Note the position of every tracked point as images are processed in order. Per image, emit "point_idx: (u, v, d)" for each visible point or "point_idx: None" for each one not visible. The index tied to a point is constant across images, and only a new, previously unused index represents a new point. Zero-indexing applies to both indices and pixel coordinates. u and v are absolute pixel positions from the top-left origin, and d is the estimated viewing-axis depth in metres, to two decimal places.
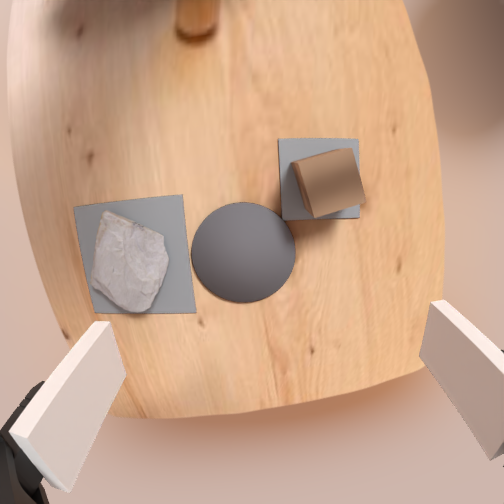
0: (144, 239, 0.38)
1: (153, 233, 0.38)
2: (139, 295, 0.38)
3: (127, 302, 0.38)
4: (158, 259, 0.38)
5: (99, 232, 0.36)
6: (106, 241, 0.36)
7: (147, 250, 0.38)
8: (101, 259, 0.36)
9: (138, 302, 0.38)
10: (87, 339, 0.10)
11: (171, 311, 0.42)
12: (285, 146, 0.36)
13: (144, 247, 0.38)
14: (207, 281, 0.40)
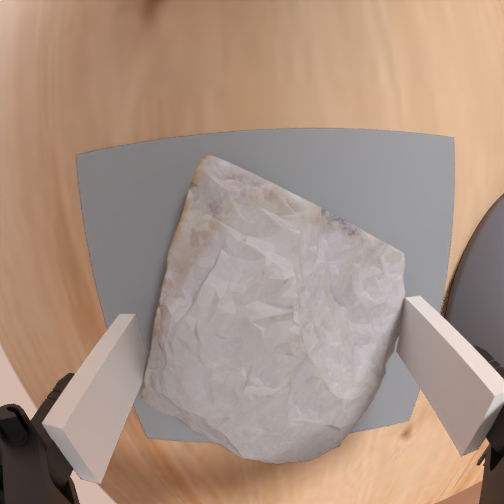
0: (353, 265, 0.11)
1: (381, 245, 0.11)
2: (320, 432, 0.11)
3: (280, 453, 0.11)
4: (385, 325, 0.12)
5: (185, 238, 0.10)
6: (218, 277, 0.10)
7: (358, 302, 0.11)
8: (196, 346, 0.10)
9: (310, 446, 0.12)
10: (114, 330, 0.11)
11: (357, 429, 0.15)
12: None
13: (350, 293, 0.11)
14: None
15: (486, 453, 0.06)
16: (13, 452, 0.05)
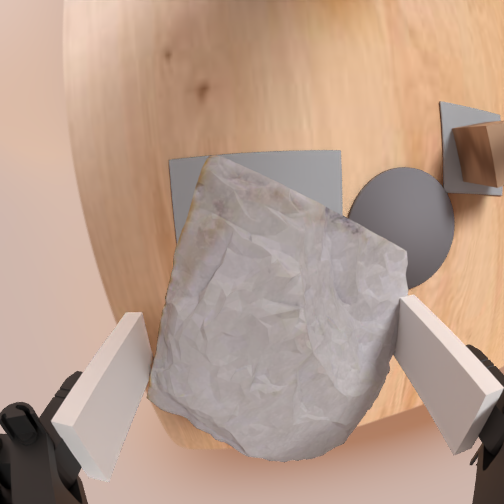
0: (357, 263, 0.11)
1: (384, 243, 0.11)
2: (325, 429, 0.11)
3: (286, 451, 0.11)
4: (389, 322, 0.12)
5: (192, 237, 0.10)
6: (225, 275, 0.10)
7: (362, 299, 0.12)
8: (203, 344, 0.10)
9: (315, 443, 0.12)
10: (121, 328, 0.11)
11: None
12: (447, 110, 0.26)
13: (354, 291, 0.11)
14: None
15: (479, 453, 0.06)
16: (21, 450, 0.05)
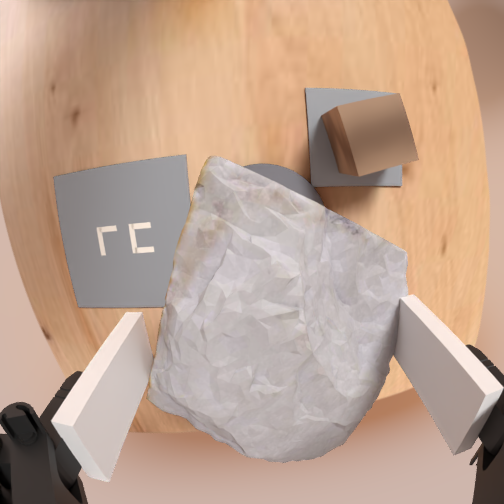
0: (357, 264, 0.11)
1: (384, 244, 0.11)
2: (325, 430, 0.11)
3: (285, 451, 0.11)
4: (389, 323, 0.12)
5: (191, 238, 0.10)
6: (224, 276, 0.10)
7: (362, 300, 0.12)
8: (202, 345, 0.10)
9: (315, 444, 0.12)
10: (121, 328, 0.11)
11: None
12: (314, 96, 0.27)
13: (354, 292, 0.11)
14: None
15: (478, 453, 0.06)
16: (22, 450, 0.05)
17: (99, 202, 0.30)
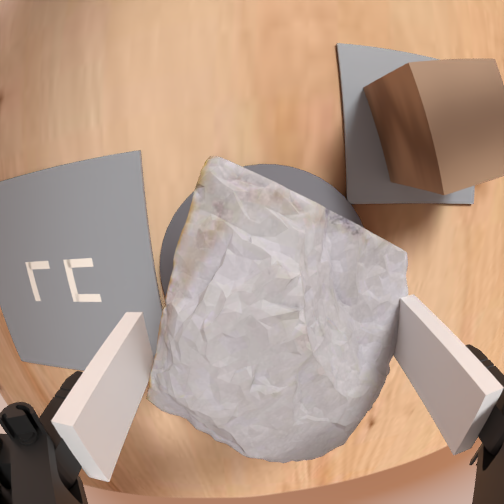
0: (357, 264, 0.11)
1: (384, 244, 0.11)
2: (325, 430, 0.11)
3: (285, 452, 0.11)
4: (389, 324, 0.12)
5: (192, 238, 0.10)
6: (225, 277, 0.10)
7: (362, 300, 0.11)
8: (202, 345, 0.10)
9: (315, 444, 0.12)
10: (121, 328, 0.11)
11: None
12: (352, 57, 0.15)
13: (354, 292, 0.11)
14: None
15: (478, 453, 0.06)
16: (22, 450, 0.05)
17: (25, 227, 0.18)
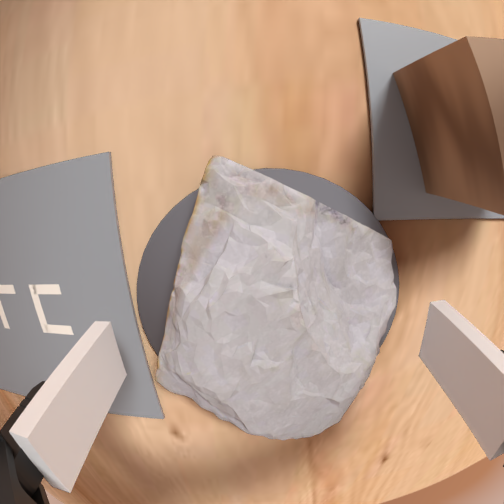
0: (345, 251, 0.13)
1: (370, 232, 0.13)
2: (320, 406, 0.13)
3: (284, 427, 0.13)
4: (377, 306, 0.13)
5: (197, 228, 0.11)
6: (227, 261, 0.11)
7: (351, 284, 0.13)
8: (208, 323, 0.11)
9: (312, 421, 0.13)
10: (87, 338, 0.10)
11: (114, 411, 0.17)
12: (378, 36, 0.11)
13: (344, 276, 0.13)
14: None
15: None
16: None
17: None
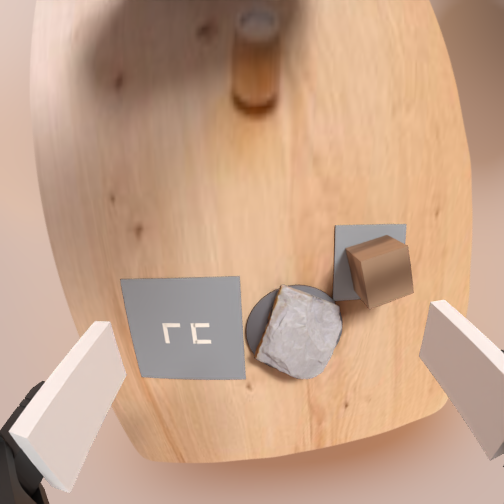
0: (322, 311, 0.39)
1: (330, 304, 0.39)
2: (315, 363, 0.39)
3: (302, 372, 0.39)
4: (334, 328, 0.39)
5: (277, 308, 0.37)
6: (286, 317, 0.37)
7: (324, 321, 0.39)
8: (280, 336, 0.37)
9: (312, 370, 0.39)
10: (87, 339, 0.10)
11: (221, 378, 0.43)
12: (341, 233, 0.38)
13: (321, 319, 0.39)
14: None
15: None
16: None
17: (165, 305, 0.40)
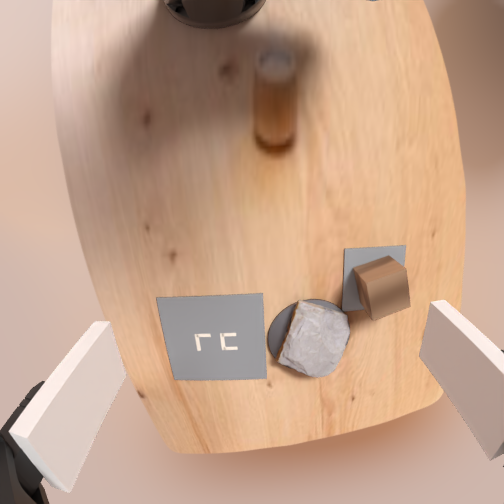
0: (333, 320, 0.45)
1: (340, 314, 0.45)
2: (328, 364, 0.45)
3: (317, 371, 0.45)
4: (343, 334, 0.46)
5: (295, 320, 0.44)
6: (303, 327, 0.44)
7: (335, 328, 0.45)
8: (298, 343, 0.44)
9: (325, 369, 0.46)
10: (87, 338, 0.10)
11: (245, 378, 0.50)
12: (350, 255, 0.44)
13: (332, 327, 0.45)
14: None
15: None
16: None
17: (197, 319, 0.46)
